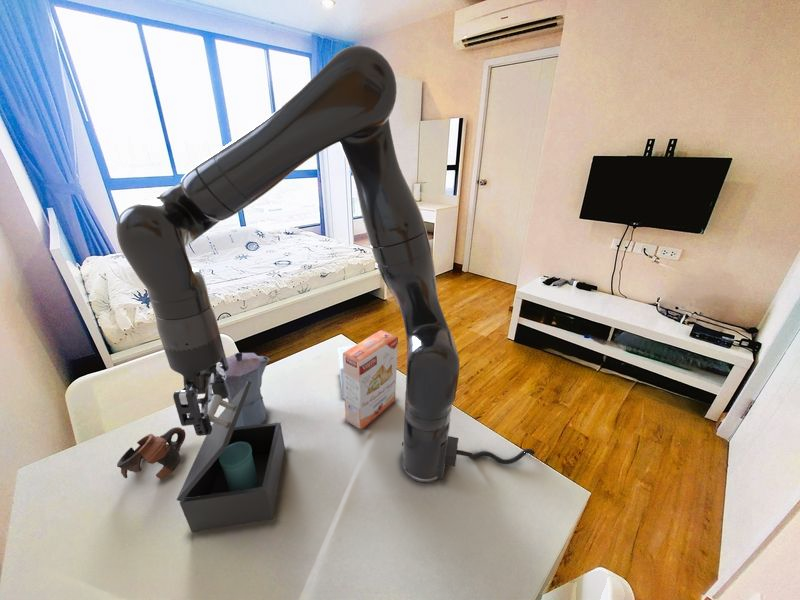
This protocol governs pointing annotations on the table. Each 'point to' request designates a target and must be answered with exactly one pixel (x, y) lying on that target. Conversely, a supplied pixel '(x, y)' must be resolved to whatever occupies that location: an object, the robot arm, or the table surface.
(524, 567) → the table surface
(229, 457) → the container
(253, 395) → the moka pot
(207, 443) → the lid
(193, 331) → the robot arm
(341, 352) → the cosmetics box
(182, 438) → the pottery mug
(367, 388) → the cracker box
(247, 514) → the open box
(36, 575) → the table surface
